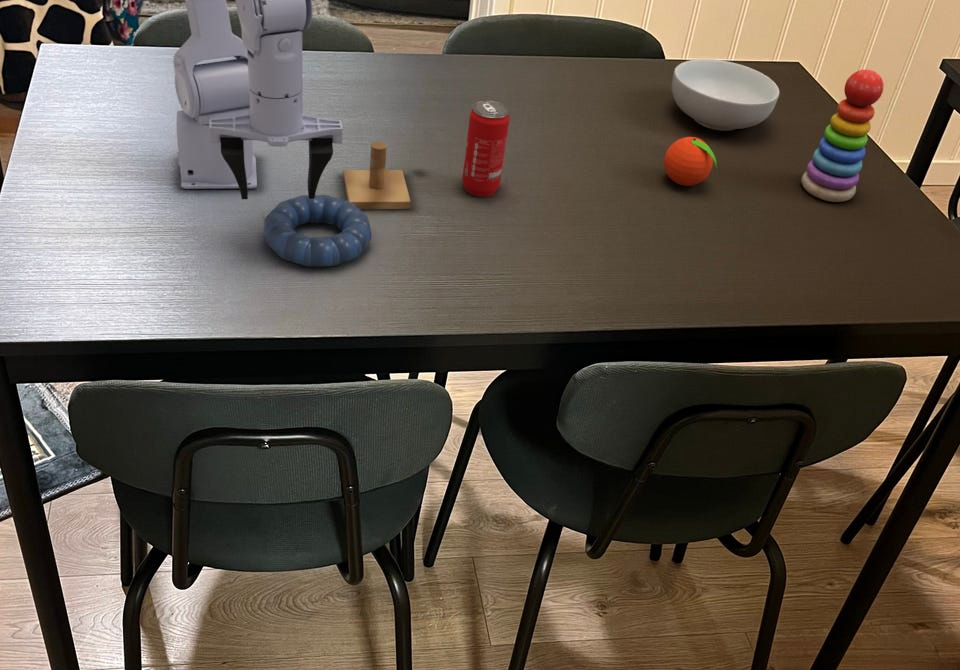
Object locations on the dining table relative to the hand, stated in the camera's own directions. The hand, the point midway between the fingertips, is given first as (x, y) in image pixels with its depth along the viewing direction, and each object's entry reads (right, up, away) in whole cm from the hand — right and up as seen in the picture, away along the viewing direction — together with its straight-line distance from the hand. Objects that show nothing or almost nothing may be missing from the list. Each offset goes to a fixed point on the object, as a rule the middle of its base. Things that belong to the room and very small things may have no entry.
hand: (278, 194), depth 113 cm
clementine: (+54, +5, +27) cm, 61 cm away
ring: (+4, -4, +4) cm, 7 cm away
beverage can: (+24, +4, +19) cm, 31 cm away
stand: (+10, +2, +15) cm, 18 cm away
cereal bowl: (+62, +19, +45) cm, 79 cm away
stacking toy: (+76, +5, +31) cm, 82 cm away
